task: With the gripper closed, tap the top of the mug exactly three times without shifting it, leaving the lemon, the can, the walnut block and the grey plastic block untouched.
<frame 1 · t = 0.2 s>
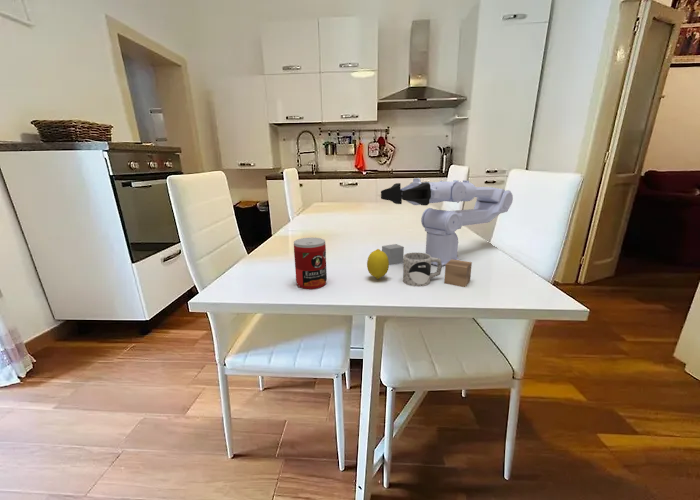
hand: (392, 195, 78), 21 cm above the table, tool horizontal, fingers open, 7 cm apart
canned food: (311, 284, 79), on the table
grey block: (392, 262, 95), on the table
lemon: (377, 279, 81), on the table
mug: (422, 281, 80), on the table
walnut block: (457, 282, 78), on the table
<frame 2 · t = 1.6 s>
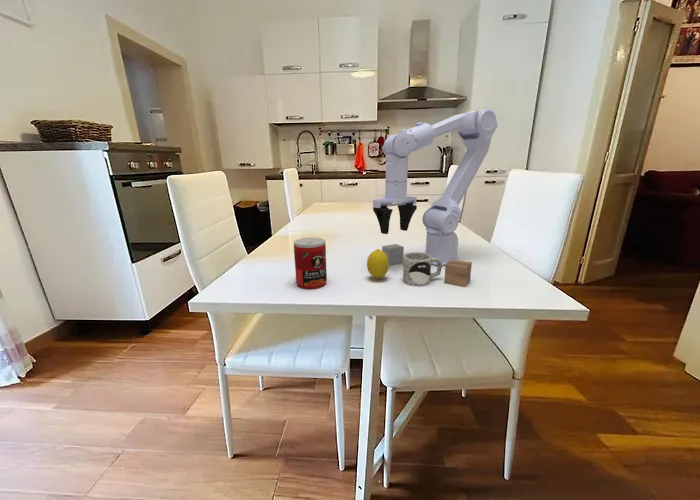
hand: (394, 231, 87), 10 cm above the table, tool pointing down, fingers open, 7 cm apart
nothing on the table moved.
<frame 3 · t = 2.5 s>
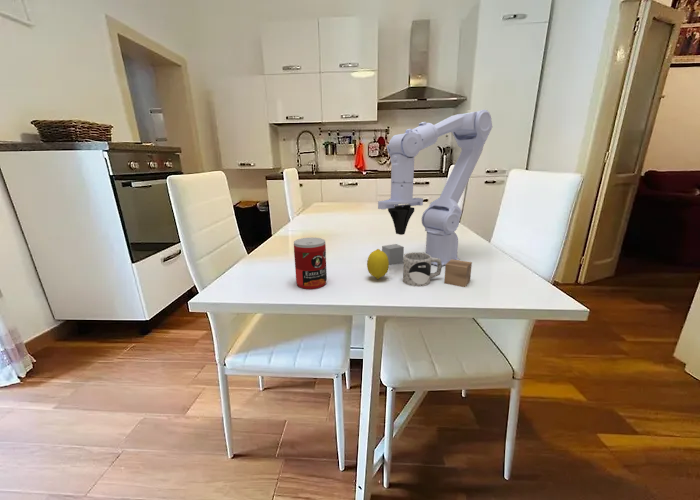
hand: (400, 233, 85), 10 cm above the table, tool pointing down, fingers closed
nothing on the table moved.
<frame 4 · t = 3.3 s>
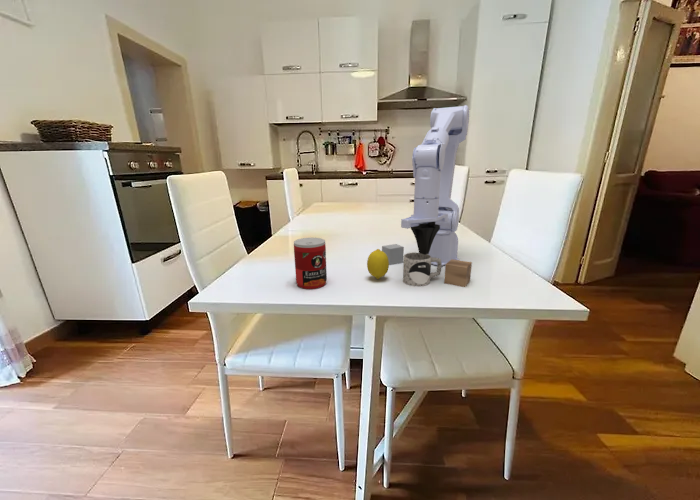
hand: (423, 253, 78), 7 cm above the table, tool pointing down, fingers closed
nothing on the table moved.
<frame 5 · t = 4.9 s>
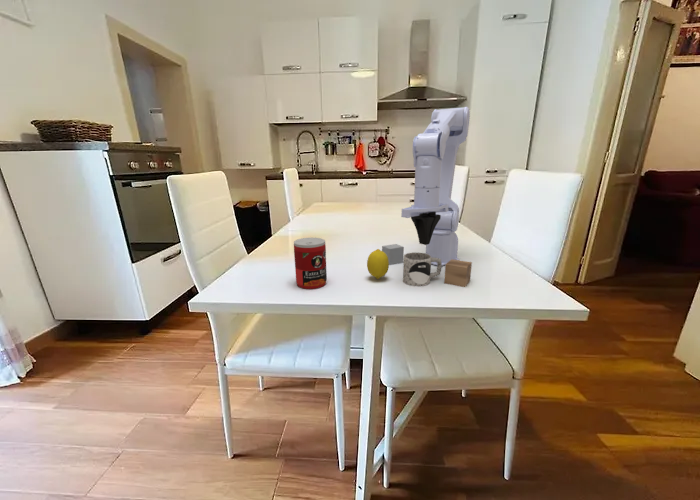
hand: (424, 243, 77), 10 cm above the table, tool pointing down, fingers closed
nothing on the table moved.
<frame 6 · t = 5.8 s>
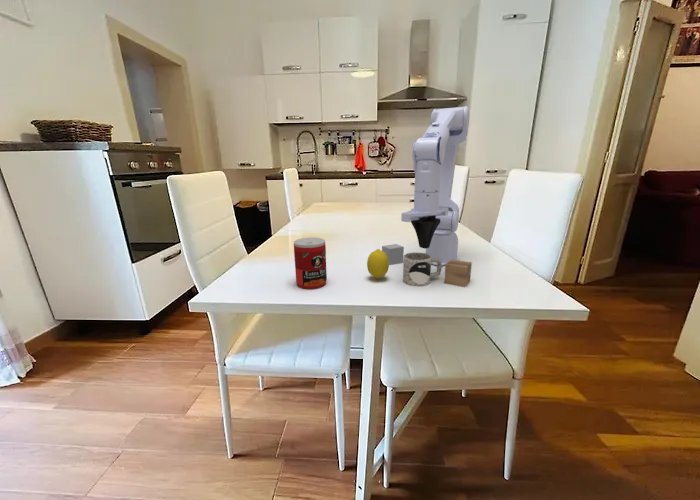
hand: (424, 247, 77), 9 cm above the table, tool pointing down, fingers closed
nothing on the table moved.
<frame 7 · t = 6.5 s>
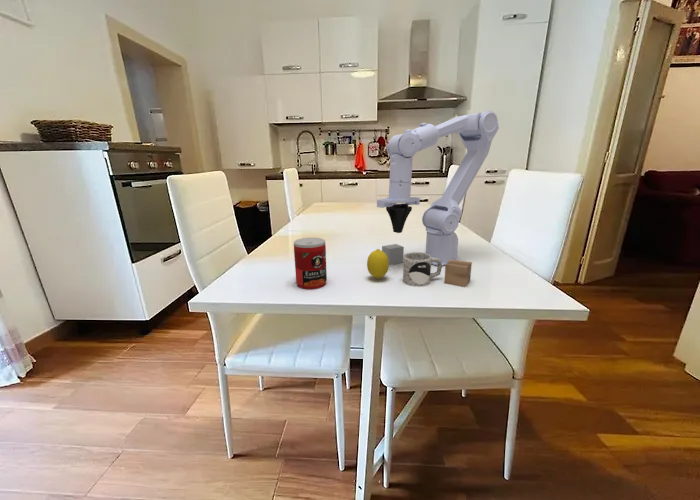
hand: (397, 232, 87), 10 cm above the table, tool pointing down, fingers closed
nothing on the table moved.
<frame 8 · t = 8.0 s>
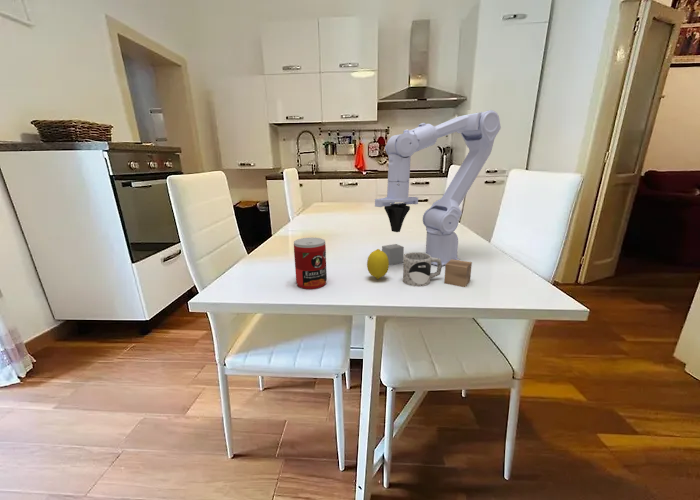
hand: (395, 231, 88), 10 cm above the table, tool pointing down, fingers closed
nothing on the table moved.
at the end: mug moved 0.3 cm from its start; mug tilted 0°; the gripper is holding nothing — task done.
